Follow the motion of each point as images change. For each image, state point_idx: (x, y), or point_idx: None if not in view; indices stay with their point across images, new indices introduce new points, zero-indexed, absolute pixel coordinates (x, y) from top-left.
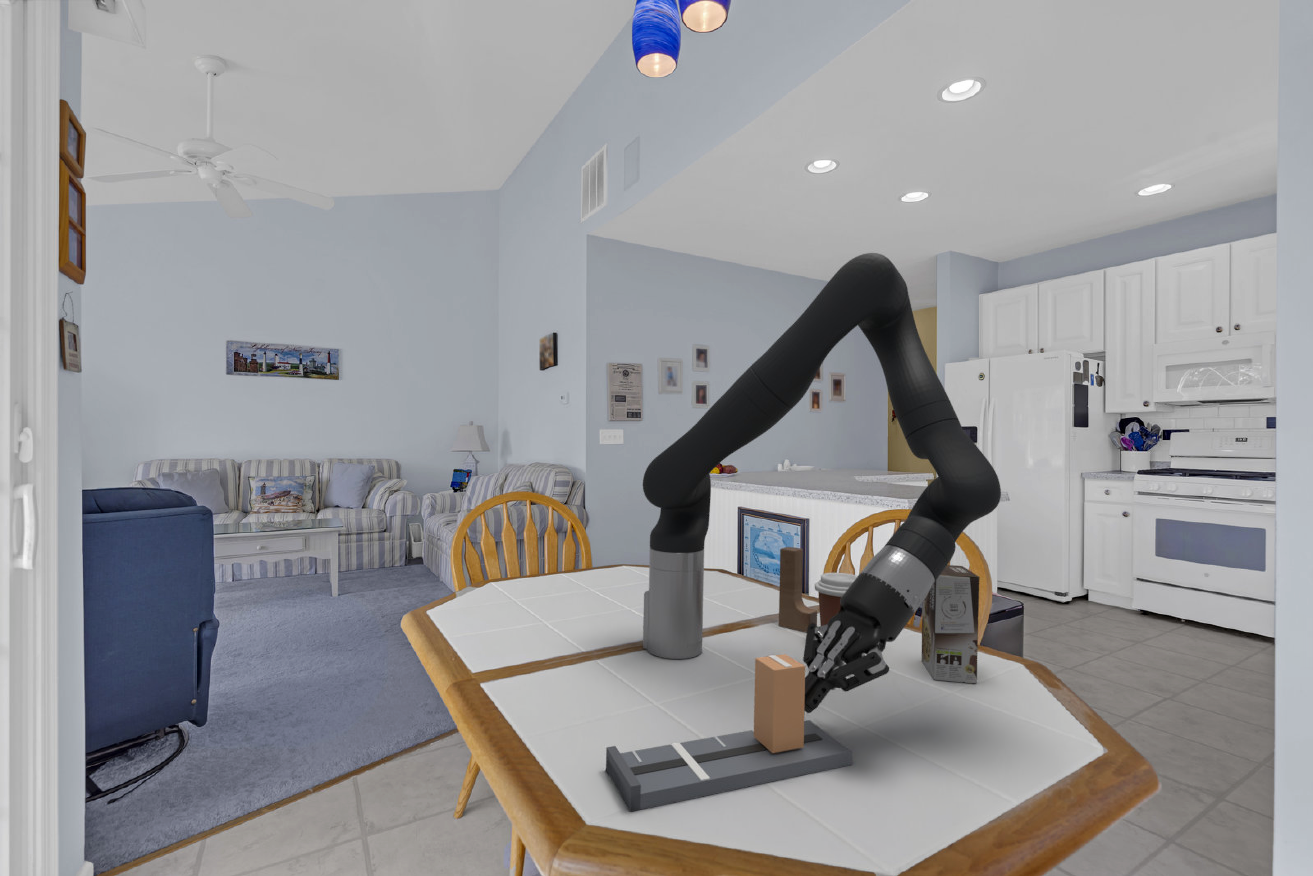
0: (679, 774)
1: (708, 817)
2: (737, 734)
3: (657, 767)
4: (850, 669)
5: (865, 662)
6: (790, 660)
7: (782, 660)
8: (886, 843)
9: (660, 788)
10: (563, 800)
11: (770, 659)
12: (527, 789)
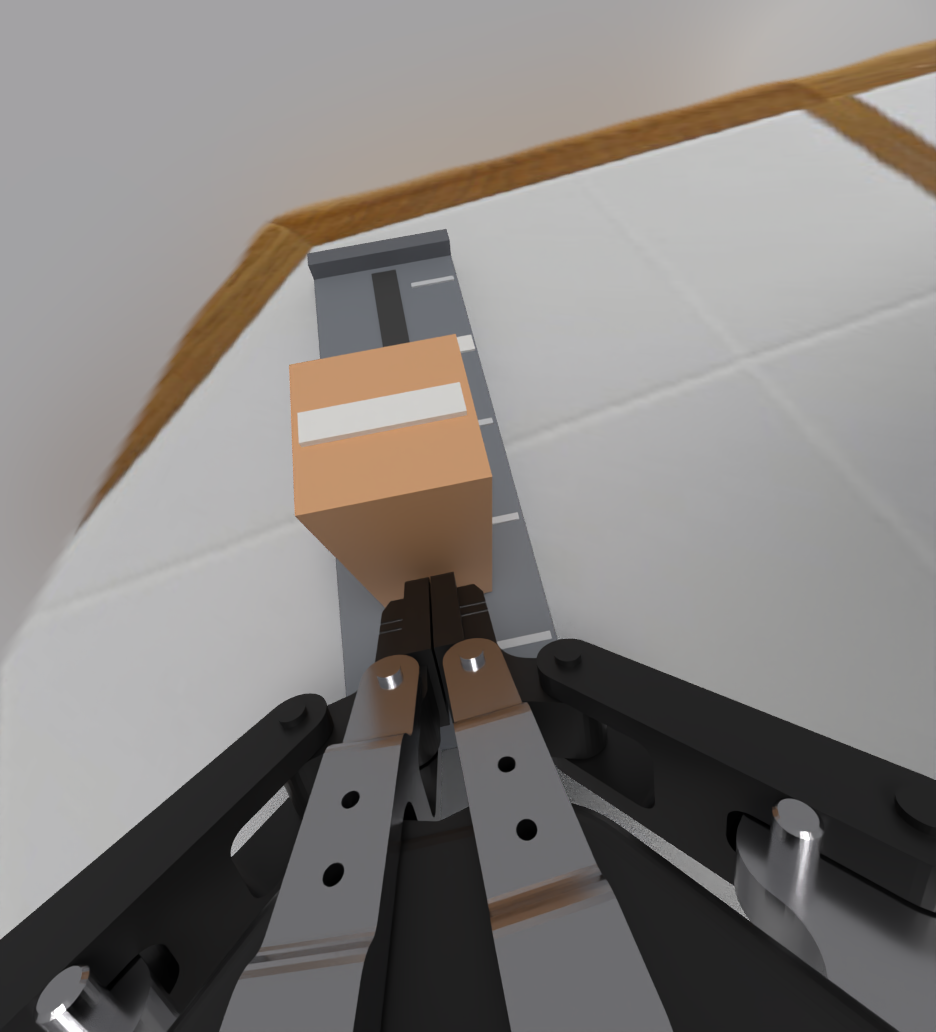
0: (354, 335)
1: (271, 384)
2: (501, 472)
3: (385, 305)
4: (180, 801)
5: (26, 932)
6: (392, 471)
7: (379, 423)
8: (65, 669)
9: (320, 304)
10: (377, 224)
11: (425, 386)
12: (416, 190)
